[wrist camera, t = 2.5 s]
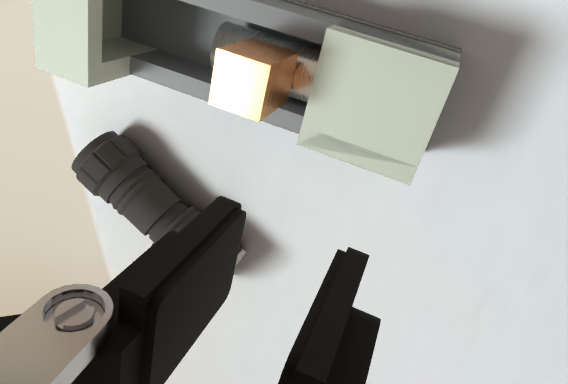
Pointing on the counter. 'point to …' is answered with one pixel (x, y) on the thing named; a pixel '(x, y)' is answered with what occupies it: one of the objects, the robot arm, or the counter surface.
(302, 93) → the hammer
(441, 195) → the counter surface
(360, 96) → the toy lathe
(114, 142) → the flashlight
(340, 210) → the counter surface
